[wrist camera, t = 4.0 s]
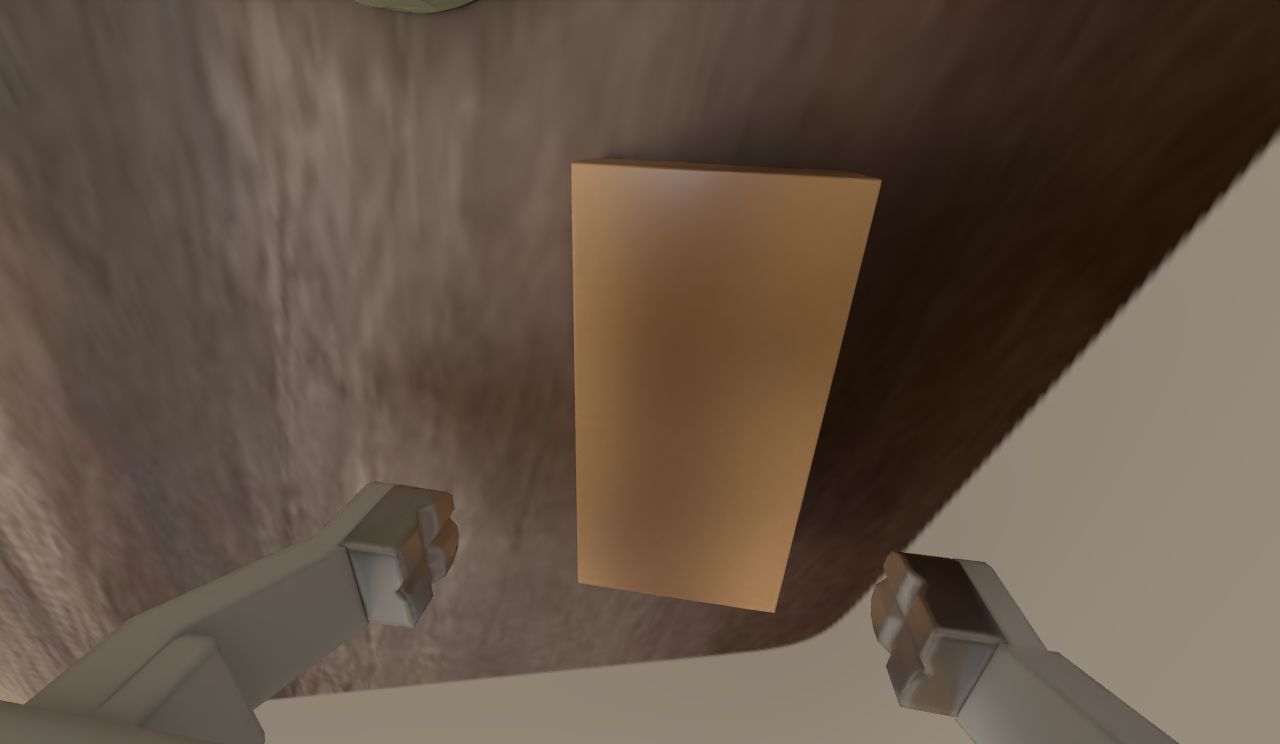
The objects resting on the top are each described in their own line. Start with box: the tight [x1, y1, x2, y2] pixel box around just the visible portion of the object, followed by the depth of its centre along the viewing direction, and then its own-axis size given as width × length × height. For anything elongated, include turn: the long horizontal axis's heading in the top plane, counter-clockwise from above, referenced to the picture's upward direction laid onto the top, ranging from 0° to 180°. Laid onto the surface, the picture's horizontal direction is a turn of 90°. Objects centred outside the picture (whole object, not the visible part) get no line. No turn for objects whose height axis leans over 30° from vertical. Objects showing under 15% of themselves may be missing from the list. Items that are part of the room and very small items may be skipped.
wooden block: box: [571, 158, 882, 613], centre depth 14 cm, size 6×13×3 cm, turn 177°
